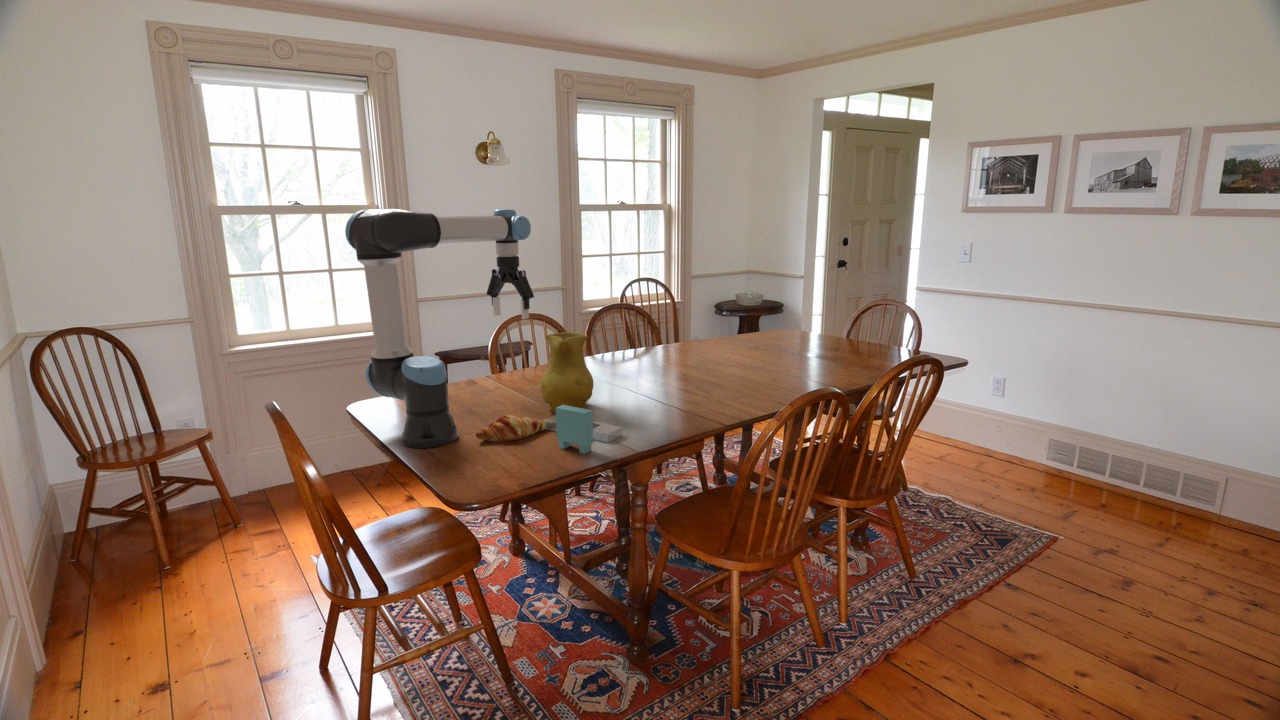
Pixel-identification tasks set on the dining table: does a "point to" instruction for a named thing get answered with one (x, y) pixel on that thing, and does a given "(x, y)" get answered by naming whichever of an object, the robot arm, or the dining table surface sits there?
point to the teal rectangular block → (574, 427)
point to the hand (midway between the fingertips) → (511, 317)
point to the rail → (599, 430)
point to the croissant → (510, 428)
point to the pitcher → (566, 372)
